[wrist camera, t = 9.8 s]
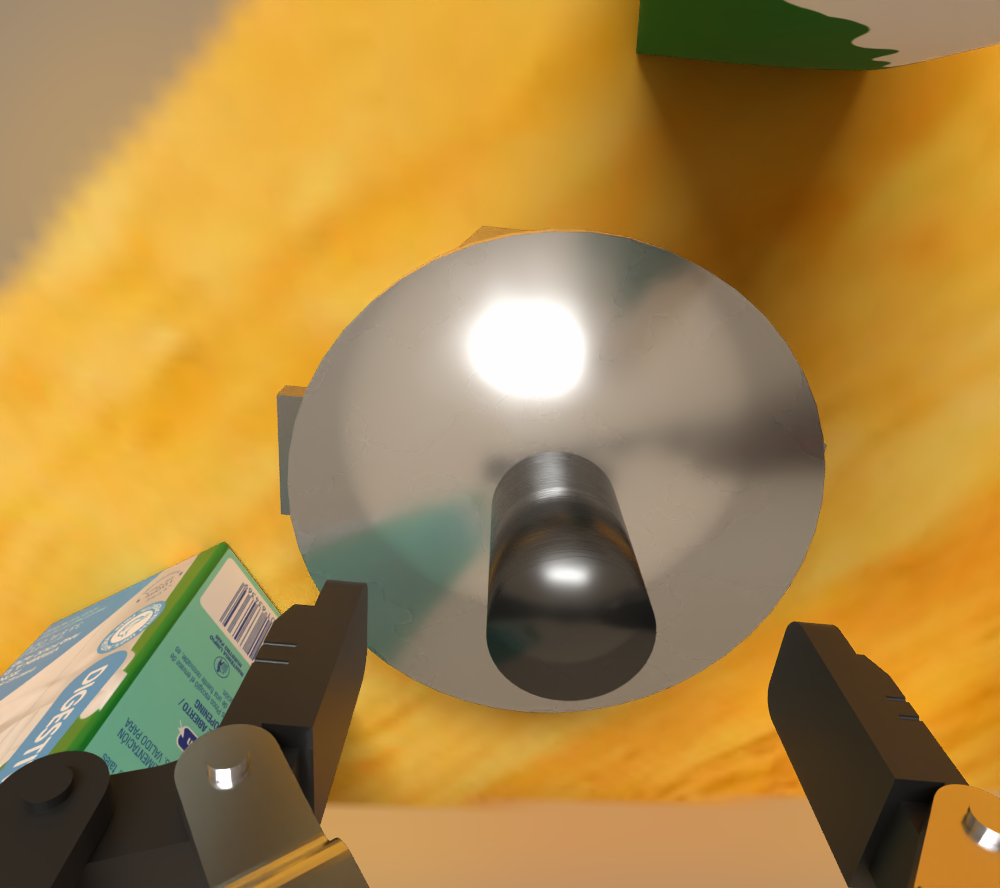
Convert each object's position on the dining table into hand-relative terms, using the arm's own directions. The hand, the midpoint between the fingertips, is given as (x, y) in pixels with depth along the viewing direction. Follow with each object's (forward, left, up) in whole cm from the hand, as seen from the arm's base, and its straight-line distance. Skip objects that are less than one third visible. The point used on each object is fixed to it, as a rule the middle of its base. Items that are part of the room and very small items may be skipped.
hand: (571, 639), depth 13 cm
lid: (0, 0, -6) cm, 6 cm away
